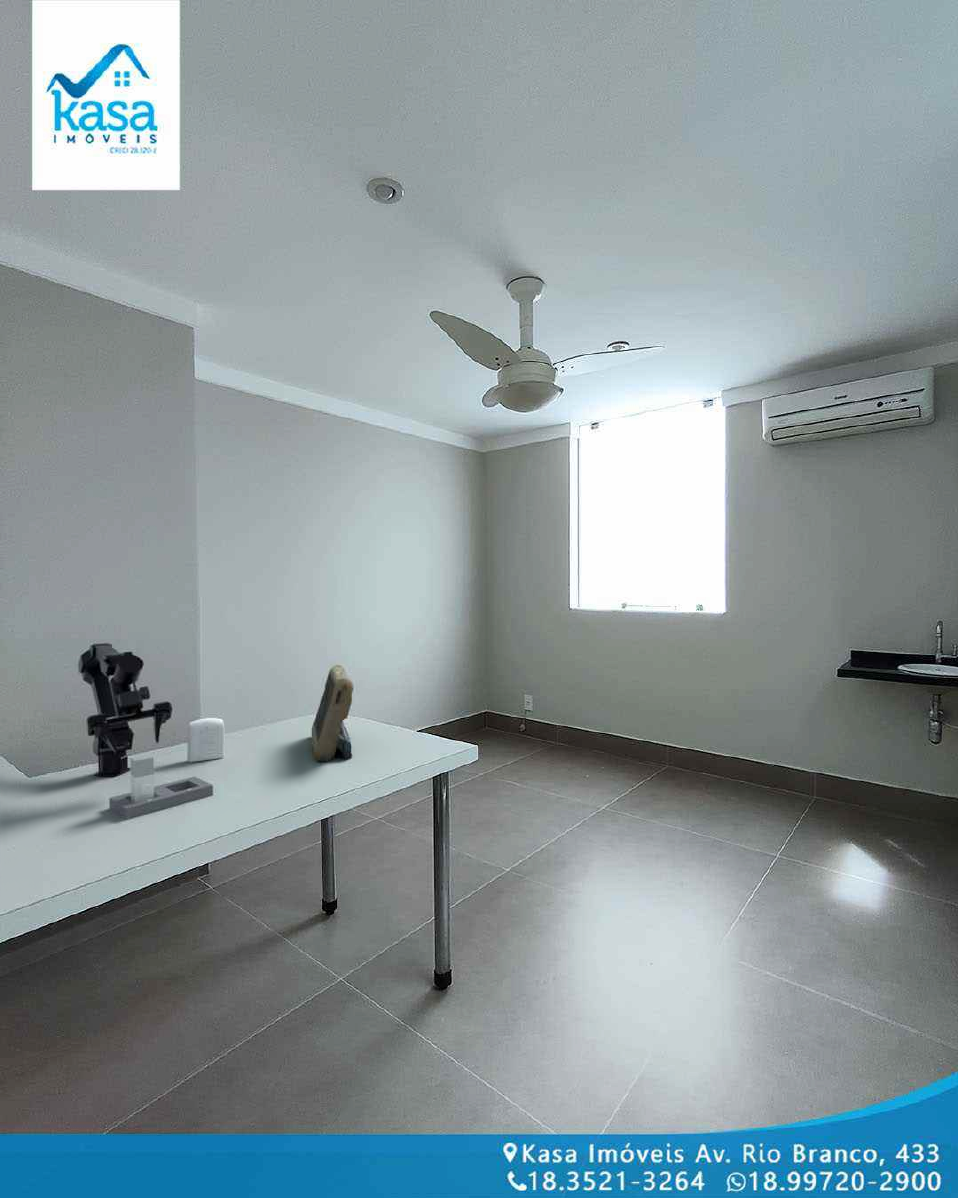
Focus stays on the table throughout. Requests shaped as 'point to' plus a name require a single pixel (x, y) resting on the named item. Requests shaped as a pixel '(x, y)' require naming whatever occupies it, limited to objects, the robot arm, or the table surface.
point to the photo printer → (205, 739)
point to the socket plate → (162, 797)
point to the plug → (142, 778)
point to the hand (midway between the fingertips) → (137, 747)
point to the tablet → (333, 717)
